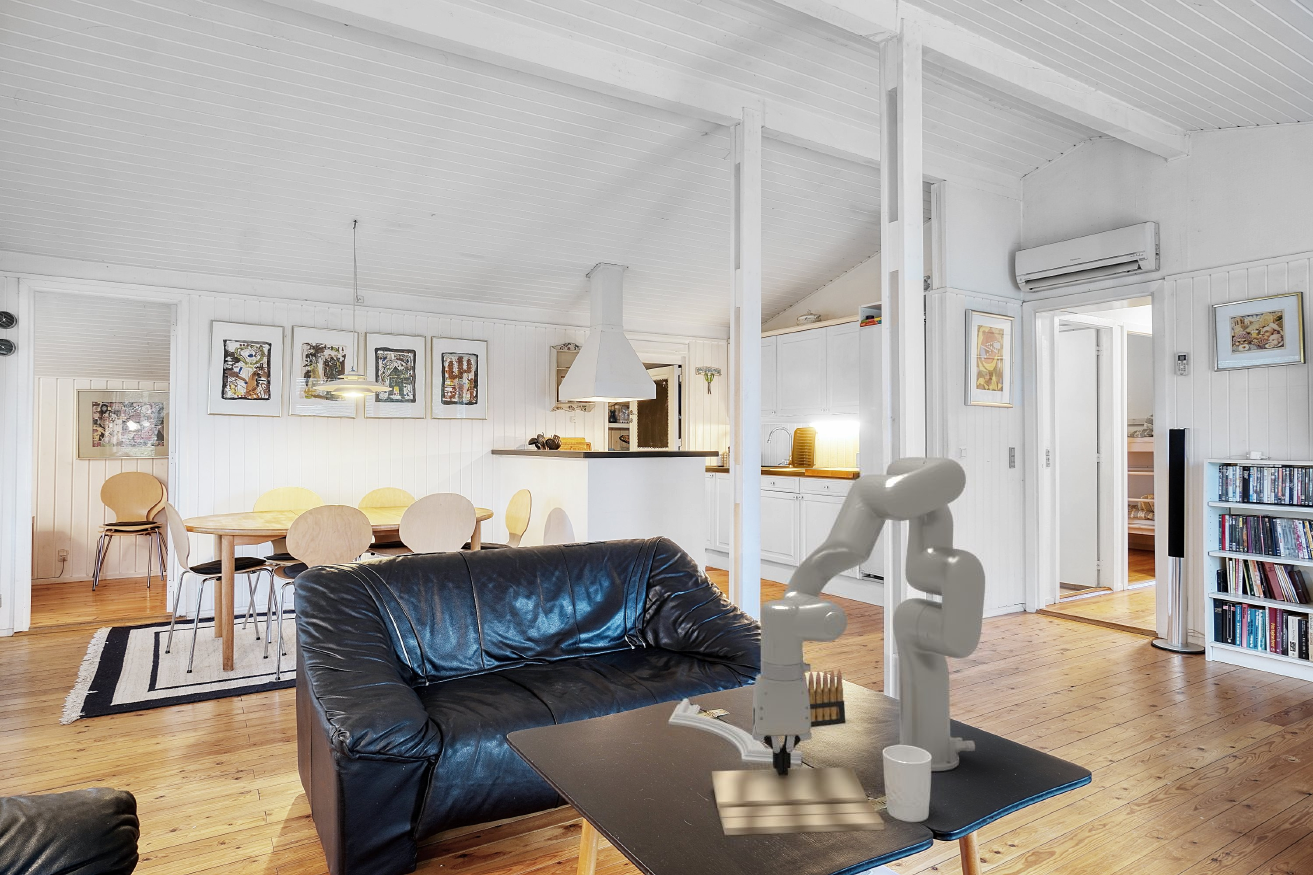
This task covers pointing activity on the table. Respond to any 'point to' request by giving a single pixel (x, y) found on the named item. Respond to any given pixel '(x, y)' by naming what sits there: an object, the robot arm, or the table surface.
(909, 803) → the white cup
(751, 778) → the plank
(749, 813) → the laid board
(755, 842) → the table surface
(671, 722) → the molding
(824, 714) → the ammunition clip
